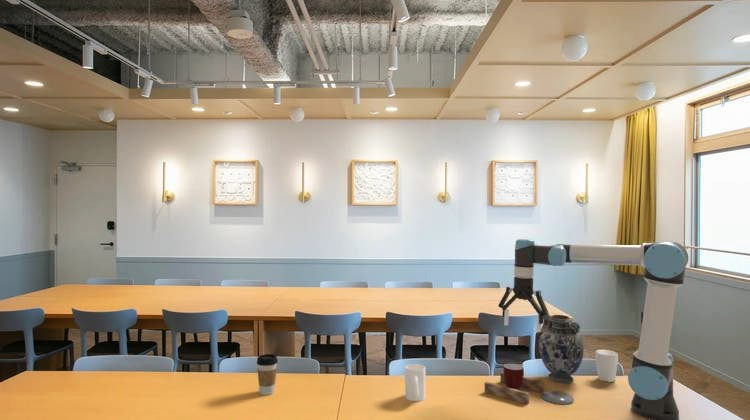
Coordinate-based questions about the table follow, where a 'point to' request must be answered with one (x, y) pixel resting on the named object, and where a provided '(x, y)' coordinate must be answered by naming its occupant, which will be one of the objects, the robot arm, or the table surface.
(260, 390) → the coffee cup
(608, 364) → the cup
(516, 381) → the mug
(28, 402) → the table surface
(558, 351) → the decorative vase
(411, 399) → the mug
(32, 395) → the table surface
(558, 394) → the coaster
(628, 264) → the robot arm
